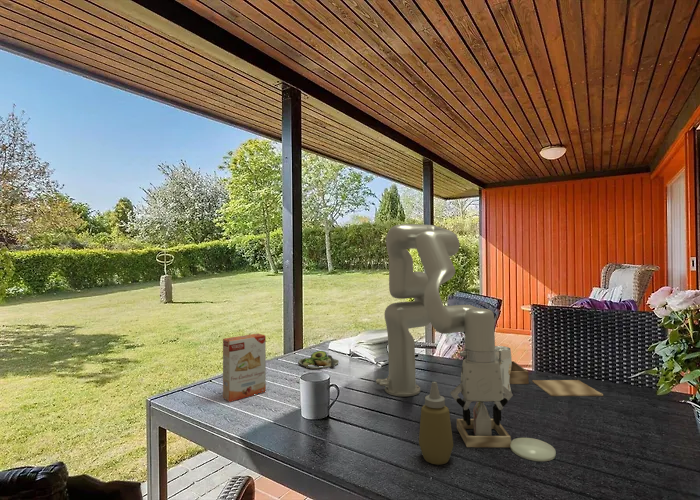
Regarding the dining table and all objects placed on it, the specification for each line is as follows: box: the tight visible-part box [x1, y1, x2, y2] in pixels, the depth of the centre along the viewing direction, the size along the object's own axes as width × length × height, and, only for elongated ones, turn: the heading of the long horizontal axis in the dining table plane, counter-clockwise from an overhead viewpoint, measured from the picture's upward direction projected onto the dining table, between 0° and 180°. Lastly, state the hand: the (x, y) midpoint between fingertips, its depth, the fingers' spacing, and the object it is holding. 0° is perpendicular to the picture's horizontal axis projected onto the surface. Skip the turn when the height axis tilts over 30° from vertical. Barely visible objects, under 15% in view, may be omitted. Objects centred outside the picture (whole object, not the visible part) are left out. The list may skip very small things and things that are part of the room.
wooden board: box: [531, 379, 604, 397], centre depth 136 cm, size 17×15×1 cm
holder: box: [456, 418, 512, 448], centre depth 101 cm, size 11×11×2 cm
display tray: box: [510, 361, 530, 385], centre depth 148 cm, size 14×14×4 cm
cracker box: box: [222, 333, 267, 403], centre depth 136 cm, size 14×6×21 cm, turn 131°
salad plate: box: [298, 350, 340, 370], centre depth 173 cm, size 19×18×5 cm
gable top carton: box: [472, 402, 492, 436], centre depth 101 cm, size 4×7×10 cm, turn 168°
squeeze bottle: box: [418, 381, 454, 465], centre depth 91 cm, size 8×8×18 cm
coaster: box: [509, 437, 557, 462], centre depth 93 cm, size 10×10×1 cm
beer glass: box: [495, 345, 513, 395], centre depth 135 cm, size 7×7×15 cm
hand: (482, 422), depth 101 cm, fingers open, 6 cm apart
